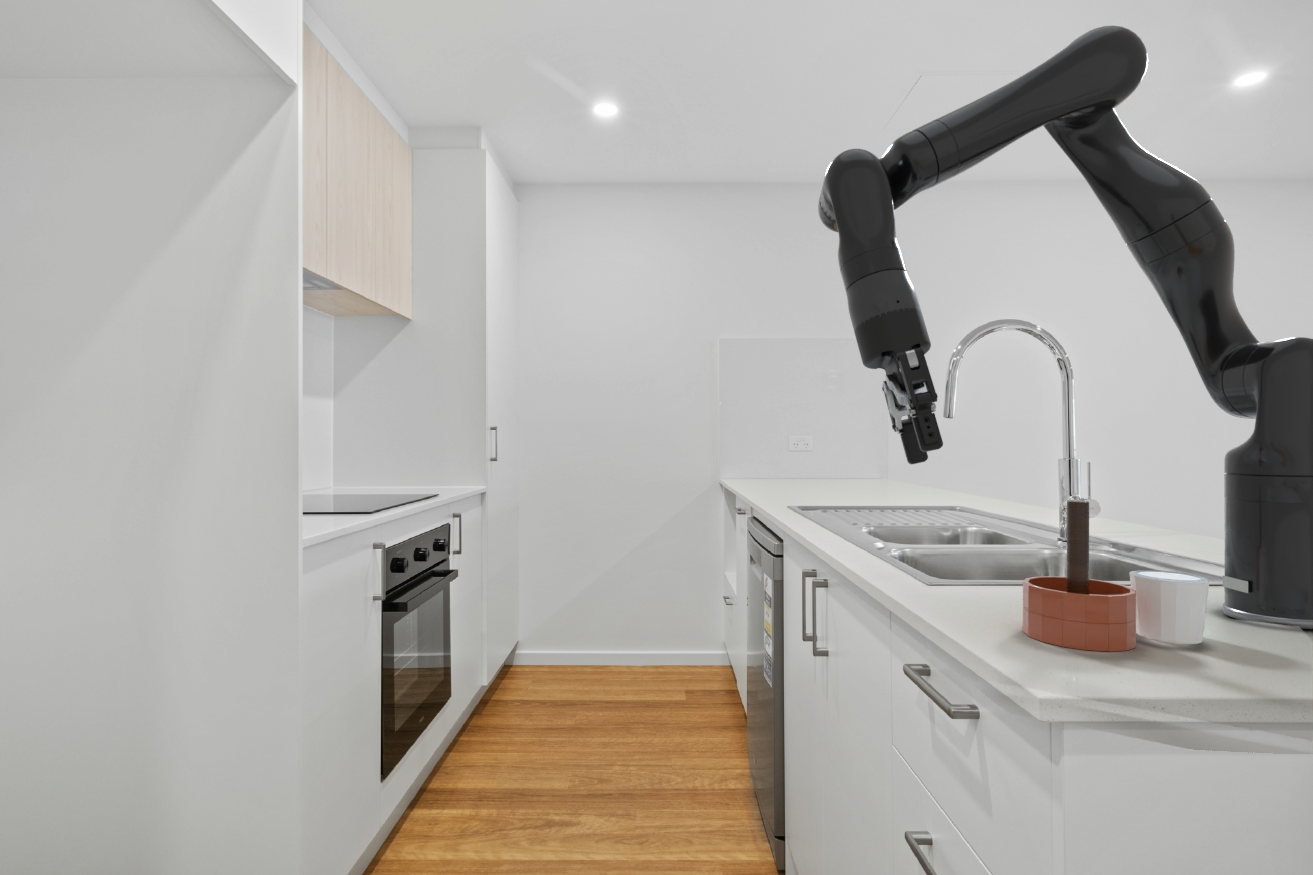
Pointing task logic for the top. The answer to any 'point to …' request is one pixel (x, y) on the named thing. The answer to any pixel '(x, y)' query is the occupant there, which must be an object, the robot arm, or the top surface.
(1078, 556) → the brown wooden pestle
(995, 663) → the top surface
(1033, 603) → the bowl
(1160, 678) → the top surface
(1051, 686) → the top surface
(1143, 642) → the top surface
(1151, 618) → the white cylinder
